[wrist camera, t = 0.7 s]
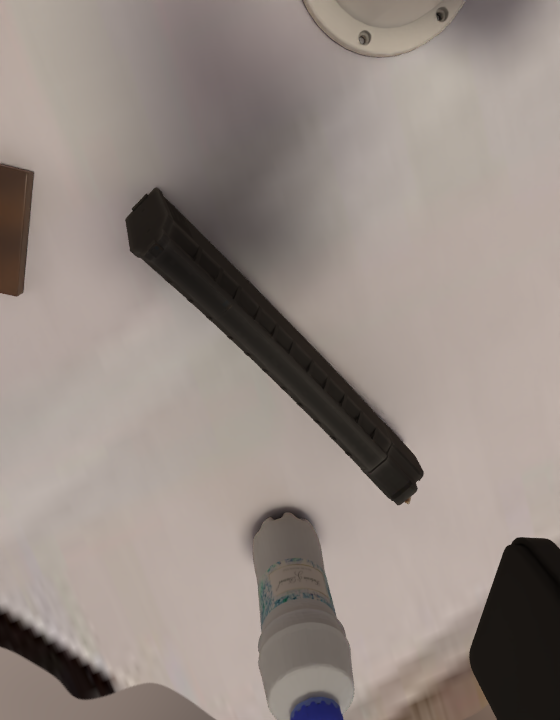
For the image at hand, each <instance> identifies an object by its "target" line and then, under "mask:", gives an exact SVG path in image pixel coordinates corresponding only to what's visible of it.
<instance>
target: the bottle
mask: <svg viewBox="0 0 560 720" xmlns="http://www.w3.org/2000/svg"><path fill="white" fill-rule="evenodd" d="M253 560H254V567H255V573H256V578H257V584H258V596H259V608H260V620H261V632H262V634H261V636H260V638H259V643H258V651H259V660H258V664H259V669H260V673H261V676H262V680H263V685H264V689H265V694H266V698H267V703H268V707H269V710H270V712H271V713H272V715H273V716H274V717H275V718H276V719H277V720H343V716H342V715H343V714H344V713H345V712H346V711H347V710H348V708H349V707H350V705H351V703H352V701H353V697H354V681H353V673H352V664H351V652H350V645H349V642H348V640H347V638H346V634H345V630H344V627H343V626H342V624H341V622H340V621H339V620H338V619H337V617H336V613H335V609H334V605H333V601H332V598H331V594H330V590H329V586H328V582H327V578H326V575H325V570H324V564H323V557H322V551H321V546H320V542H319V539H318V537H317V534H316V532H315V530H314V528H313V526H312V525H311V524H310V522H309V521H308V520H306V519H298V518H296V517H295V516H294V515H293V514H292V513H284V514H283V517H282V518H279V519H276V520H274V519H273V518H272V517H269V518H267V519H266V520H265V521H264V522H263V524H262V526H261V529H260V531H259V532H257V533H256V535H255V537H254V539H253Z"/></svg>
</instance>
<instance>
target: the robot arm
mask: <svg viewBox="0 0 560 720" xmlns="http://www.w3.org/2000/svg"><path fill="white" fill-rule="evenodd" d="M303 1H304V3H305V6H306V8H307V10H308V12H309V13H310V14H311V16H312V17H313V19H314V20H315V22H316V23H317V25H318V26H319V27H320V28H321V29H322V30H323V31H324V32H325V33H326V34H327V35H328V36H329V37H330V38H331V39H332V40H334V41H335V42H337V43H338V44H340V45H341V46H343V47H344V48H346V49H348V50H351V51H353V52H356V53H358V54H361V55H366V56H373V57H389V56H397V55H400V54H403V53H407V52H410V51H412V50H414V49H416V48H418V47H420V46H422V45H424V44H425V43H427V42H428V41H430V40H431V39H432V38H434V37H435V36H437V35H438V34H439V33H440V32H441V31H442V30H444V29H445V28H446V27H447V26H448V25H449V24H450V23H451V21H452V20H453V19H454V17H455V16H456V15H457V13H458V12H459V10H460V9H461V7H462V6H463V5H464V3H465V1H466V0H303ZM436 14H438V15H439V16H440V21H438V20H437V18H436ZM360 37H363V38H364V40H365V43H364V44H360V42H359V38H360ZM469 658H470V664H471V668H472V671H473V673H474V675H475V677H476V679H477V681H478V683H479V685H480V687H481V689H482V691H483V693H484V695H485V697H486V699H487V701H488V703H489V704H490V706H491V708H492V710H493V712H494V714H495V716H496V718H497V720H560V549H559V548H558V547H557V546H556V544H555V543H553V542H552V541H551V540H549V539H544V538H523V537H520V538H516V539H515V540H514V541H513V542H512V544H511V545H508V546H507V547H506V548H505V550H504V552H503V555H502V558H501V561H500V564H499V567H498V570H497V573H496V575H495V578H494V581H493V584H492V587H491V590H490V593H489V596H488V599H487V602H486V605H485V607H484V610H483V613H482V616H481V619H480V622H479V625H478V628H477V631H476V634H475V636H474V639H473V642H472V645H471V648H470V657H469Z"/></svg>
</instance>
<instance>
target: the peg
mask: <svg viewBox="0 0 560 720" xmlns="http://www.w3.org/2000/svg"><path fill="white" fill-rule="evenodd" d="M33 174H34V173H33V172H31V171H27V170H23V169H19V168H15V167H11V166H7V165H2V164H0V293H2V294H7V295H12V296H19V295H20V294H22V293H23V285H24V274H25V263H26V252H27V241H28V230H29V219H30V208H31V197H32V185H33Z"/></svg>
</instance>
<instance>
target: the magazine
mask: <svg viewBox="0 0 560 720" xmlns="http://www.w3.org/2000/svg"><path fill="white" fill-rule="evenodd" d="M132 210H133V211H132V212H131V213H130V214H129V216H128V217H127V218H126V220H125V221H126V227H127V233H128V239H129V246H130V251H131V252H132V253H133V254H134V255H135V256H137V257H138V258H141V259H142V260H144V261H145V262H146V263H147V264H148V265H149V266H150V267H152V268H153V269H154V270H155V271H156V272H157V273H158V274H160V275H161V276H162V277H163V278H164V279H165V280H166V281H167V282H168V283H169V284H171V285H172V286H173V287H174V288H175V289H177V290H178V291H179V292H180V293H181V294H182V295H183V296H184V297H186V298H187V300H188V301H189V302H190V303H192V304H193V305H194V306H195V307H197V308H198V309H199V310H200V311H201V312H202V313H203V314H204V315H205V316H206V317H207V318H208V319H209V320H211V321H212V322H213V323H214V324H215V325H216V326H217V327H218V328H219V329H220V330H221V331H222V332H224V333H225V334H226V335H227V337H228V338H229V339H231V340H232V341H233V342H234V343H235V344H236V345H237V346H238V347H239V348H240V349H242V350H243V351H244V353H245V354H246V355H247V356H249V357H250V358H251V359H252V360H253V361H254V362H255V363H256V364H257V365H258V366H259V367H260V368H262V370H263V371H264V372H265V373H267V374H268V375H269V376H270V377H271V378H272V379H273V380H274V381H275V382H276V383H277V384H278V385H279V386H280V387H281V388H282V389H283V390H284V391H285V392H286V393H287V394H288V395H289V396H290V397H291V398H292V399H293V400H294V401H295V402H296V403H297V404H298V405H299V406H300V407H301V408H302V409H303V410H304V411H305V412H306V413H307V414H308V415H309V416H310V417H311V418H312V419H313V420H314V421H315V422H316V423H317V424H318V425H319V426H320V427H321V428H322V429H323V430H324V431H325V432H326V433H327V434H328V435H329V436H330V437H331V439H333V440H334V441H335V442H336V443H337V444H338V445H339V446H340V447H341V448H342V449H343V450H344V451H345V453H346V454H347V455H348V456H350V458H351V459H352V460H353V461H354V462H355V463H356V464H357V465H358V466H359V467H360V468H361V470H362V471H363V472H364V473H365V474H366V475H367V476H368V477H369V478H370V479H371V480H372V481H373V482H374V483H375V485H376V486H377V487H378V488H379V489H380V490H381V491H382V492H383V493H384V494H385V495H386V496H387V497H388V498H389V499H391V500H392V501H394V502H395V503H396V504H397V505H401V504H402V503H403V502H405V503H406V504H410V499H411V496H412V495H413V494H414V493H415V492H416V491H417V486H416V482H417V481H418V480H419V481H420V479H421V478H422V477H423V470H422V468H421V466H420V464H419V462H418V460H417V458H416V457H415V455H414V454H413V453H412V452H411V451H410V450H409V448H408V447H407V446H406V445H405V444H404V443H403V442H402V441H401V440H400V439H399V438H398V436H397V435H396V434H395V433H394V432H393V431H392V430H391V429H390V428H389V427H388V426H387V425H386V423H384V422H383V421H382V420H381V419H380V418H379V417H378V416H377V415H376V413H375V412H374V411H373V410H372V409H371V408H370V407H369V406H368V405H367V404H366V403H365V402H364V401H363V400H362V399H361V397H360V396H359V395H358V394H357V393H356V392H355V391H354V390H353V389H352V388H351V387H350V386H349V385H348V384H347V383H346V382H345V380H344V379H343V378H342V377H341V376H340V375H339V374H338V373H337V372H336V371H335V370H334V369H333V368H332V367H331V366H330V365H329V364H328V362H327V361H326V360H325V359H324V358H323V357H322V356H321V355H320V354H319V353H318V352H317V351H316V350H315V349H314V348H313V347H312V346H311V345H310V344H309V343H308V342H307V341H306V339H305V338H304V337H303V336H302V335H301V334H300V333H299V332H298V331H297V330H296V329H295V328H294V327H293V326H292V325H291V324H290V323H289V322H288V321H287V320H286V319H285V318H284V317H283V316H282V315H281V314H280V313H279V312H278V311H277V310H276V309H275V308H274V307H273V306H272V305H271V303H270V302H269V301H268V300H267V299H266V298H265V297H264V296H263V295H262V294H261V293H260V292H259V291H258V290H257V289H256V288H255V287H254V286H253V285H252V284H251V283H250V282H249V281H248V280H247V279H246V278H245V277H244V276H243V275H242V274H241V273H240V272H239V271H238V270H237V269H236V268H235V267H234V266H233V265H232V264H231V263H230V262H229V261H228V260H227V259H226V258H225V257H224V256H223V255H222V254H221V253H220V252H219V251H218V250H217V249H216V248H215V247H214V246H213V245H212V244H211V243H210V242H209V241H208V240H207V239H206V238H205V237H204V236H203V235H202V234H201V233H200V232H199V231H198V230H197V229H196V228H195V227H194V226H193V225H192V224H191V223H190V222H189V221H188V220H187V219H186V218H185V217H184V216H183V215H182V214H181V213H180V212H179V211H178V210H177V209H176V208H175V207H174V206H173V205H172V204H171V203H170V202H169V201H168V200H167V199H166V198H165V197H164V196H163V194H162V192H161V191H160V190H159V189H158V188H157V187H156V188H154V190H153V191H152V192H151V193H150V194H149V195H147V194H146V195H145V196H144V197H143V198H142V199H141V200H140V201H139V202H138V203H137V204H136V205H135V206H134V207H133V208H132Z"/></svg>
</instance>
